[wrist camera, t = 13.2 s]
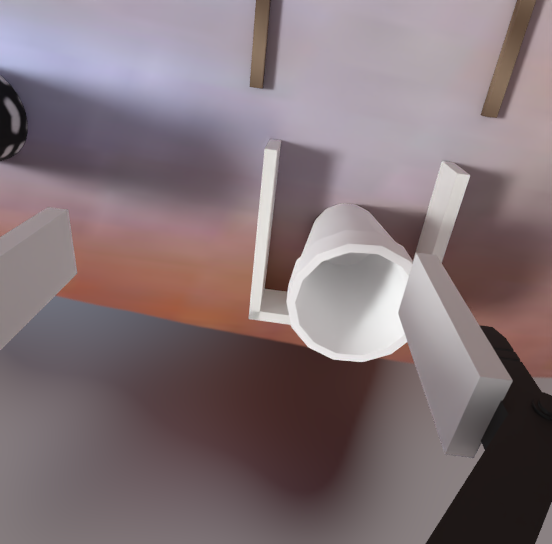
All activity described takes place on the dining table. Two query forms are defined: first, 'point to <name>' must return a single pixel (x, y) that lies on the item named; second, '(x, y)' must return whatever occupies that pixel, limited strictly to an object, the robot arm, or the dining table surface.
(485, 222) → the dining table surface
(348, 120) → the dining table surface
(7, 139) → the white-spotted black cylinder
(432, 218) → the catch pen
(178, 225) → the dining table surface
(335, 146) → the dining table surface
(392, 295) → the foam cup
